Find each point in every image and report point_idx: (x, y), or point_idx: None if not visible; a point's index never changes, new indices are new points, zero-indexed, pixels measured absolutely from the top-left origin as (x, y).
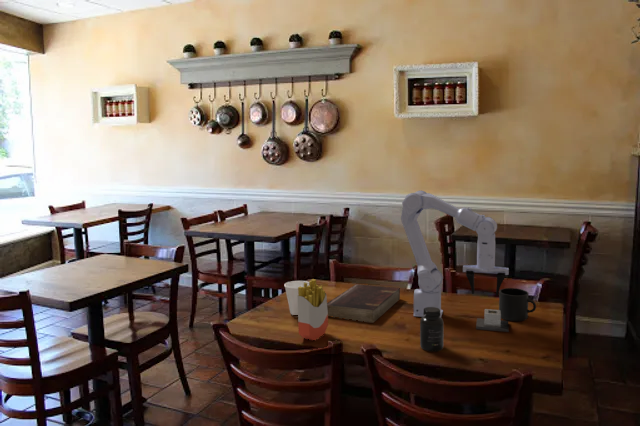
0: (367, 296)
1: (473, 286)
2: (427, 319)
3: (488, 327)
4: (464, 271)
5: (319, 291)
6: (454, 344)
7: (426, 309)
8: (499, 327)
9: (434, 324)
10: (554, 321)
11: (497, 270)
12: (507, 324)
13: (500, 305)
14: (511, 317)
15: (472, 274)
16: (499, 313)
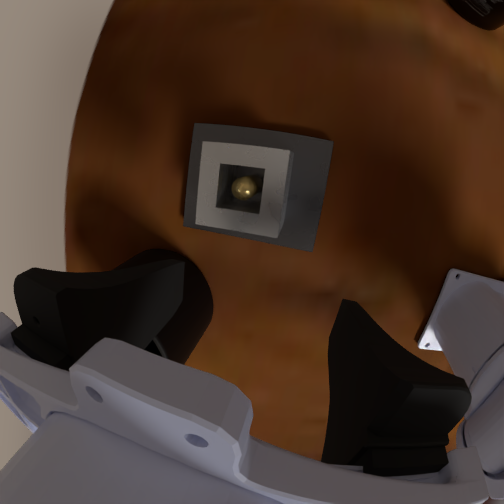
0: None
1: (359, 323)
2: None
3: (277, 131)
4: (465, 453)
5: None
6: (414, 6)
7: None
8: (229, 135)
9: None
10: (71, 255)
11: (15, 363)
12: (191, 179)
13: (191, 313)
14: (168, 256)
15: (395, 420)
16: (206, 165)
